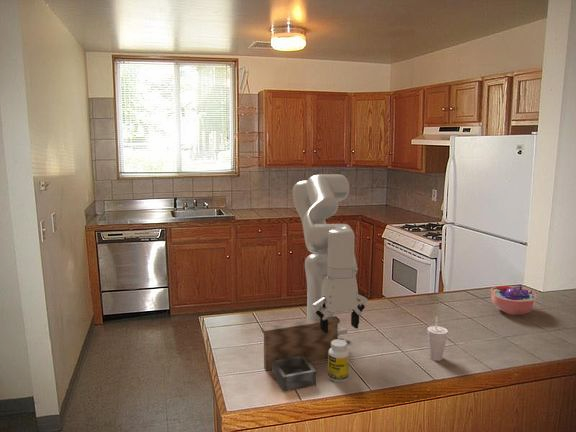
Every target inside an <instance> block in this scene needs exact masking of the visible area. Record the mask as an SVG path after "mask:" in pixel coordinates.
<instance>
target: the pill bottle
mask: <svg viewBox="0 0 576 432" xmlns="http://www.w3.org/2000/svg"><path fill="white" fill-rule="evenodd" d="M349 367H350V351H349V349H348V342H347V341H346V340H343V339H336V340H333V341H332V342H331V348H330V349H329V352H328V360H327V377H328V379H329V380H331V381H333V382H334V383H335V382H336V383H342V382H343V383H344V382H345V381H347V380H348V379H349V376H350V374H349V372H350V368H349Z"/></svg>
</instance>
